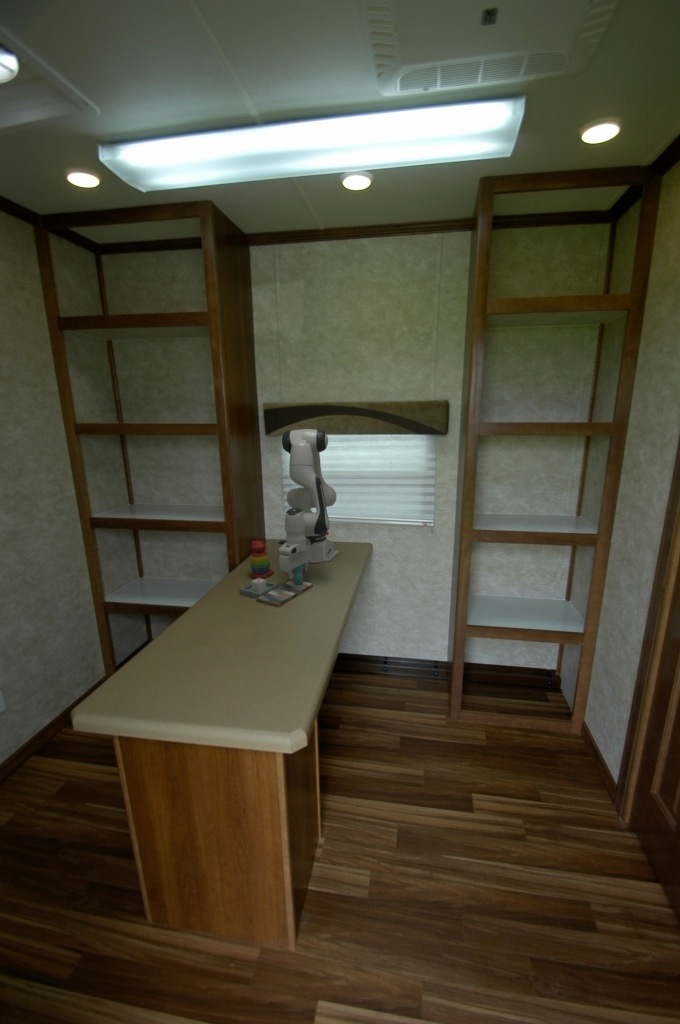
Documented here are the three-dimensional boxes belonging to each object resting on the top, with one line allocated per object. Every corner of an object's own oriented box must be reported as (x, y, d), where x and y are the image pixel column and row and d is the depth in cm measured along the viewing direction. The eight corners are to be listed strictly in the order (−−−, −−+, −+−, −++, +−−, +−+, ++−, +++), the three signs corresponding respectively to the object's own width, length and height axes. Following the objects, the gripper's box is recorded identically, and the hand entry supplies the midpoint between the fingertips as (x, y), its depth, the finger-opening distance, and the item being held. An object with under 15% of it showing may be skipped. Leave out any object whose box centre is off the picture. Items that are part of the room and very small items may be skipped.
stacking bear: (274, 571, 213) (272, 537, 209) (269, 579, 203) (266, 543, 199) (253, 571, 214) (250, 537, 210) (247, 579, 204) (244, 543, 200)
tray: (258, 584, 197) (258, 579, 197) (278, 589, 191) (278, 584, 190) (239, 594, 188) (239, 588, 187) (259, 599, 181) (259, 594, 181)
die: (259, 587, 192) (258, 577, 191) (266, 589, 190) (265, 579, 189) (252, 590, 189) (251, 581, 188) (259, 593, 186) (258, 583, 185)
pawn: (297, 581, 196) (296, 561, 194) (305, 582, 194) (304, 562, 192) (291, 584, 193) (290, 564, 190) (299, 586, 190) (298, 565, 188)
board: (292, 581, 199) (292, 578, 199) (313, 586, 193) (313, 583, 192) (256, 601, 180) (256, 598, 179) (278, 607, 173) (277, 604, 173)
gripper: (305, 538, 199) (306, 566, 202) (275, 550, 182) (278, 581, 185) (315, 540, 195) (317, 568, 198) (287, 552, 179) (289, 583, 182)
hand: (298, 574), depth 192 cm, fingers open, 8 cm apart
